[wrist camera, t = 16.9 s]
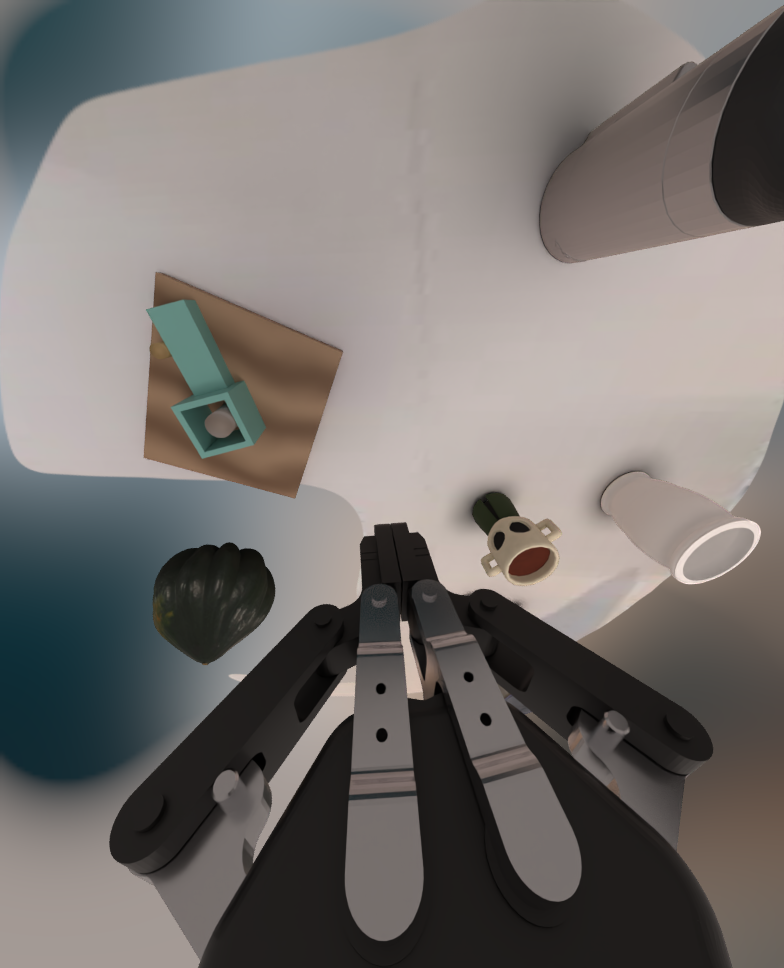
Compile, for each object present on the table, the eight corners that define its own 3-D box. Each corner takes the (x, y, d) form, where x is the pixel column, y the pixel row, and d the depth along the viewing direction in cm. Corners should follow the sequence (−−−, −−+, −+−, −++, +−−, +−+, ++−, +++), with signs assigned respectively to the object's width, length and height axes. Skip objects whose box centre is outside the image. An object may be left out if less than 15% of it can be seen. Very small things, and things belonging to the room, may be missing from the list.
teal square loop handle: (149, 312, 30) (112, 312, 25) (205, 297, 30) (178, 295, 25) (220, 439, 37) (202, 458, 32) (266, 427, 37) (254, 445, 32)
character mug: (510, 472, 46) (562, 525, 35) (528, 502, 49) (582, 558, 38) (450, 513, 48) (481, 574, 37) (472, 538, 52) (506, 601, 40)
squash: (162, 526, 37) (106, 668, 32) (289, 548, 42) (258, 674, 36) (187, 540, 49) (149, 643, 44) (282, 556, 54) (258, 651, 49)
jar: (629, 454, 47) (735, 509, 34) (667, 478, 51) (777, 537, 38) (580, 507, 51) (659, 573, 38) (619, 526, 55) (703, 593, 42)
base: (163, 273, 29) (108, 262, 23) (342, 351, 35) (341, 361, 28) (150, 452, 38) (106, 484, 31) (296, 492, 43) (287, 527, 36)
